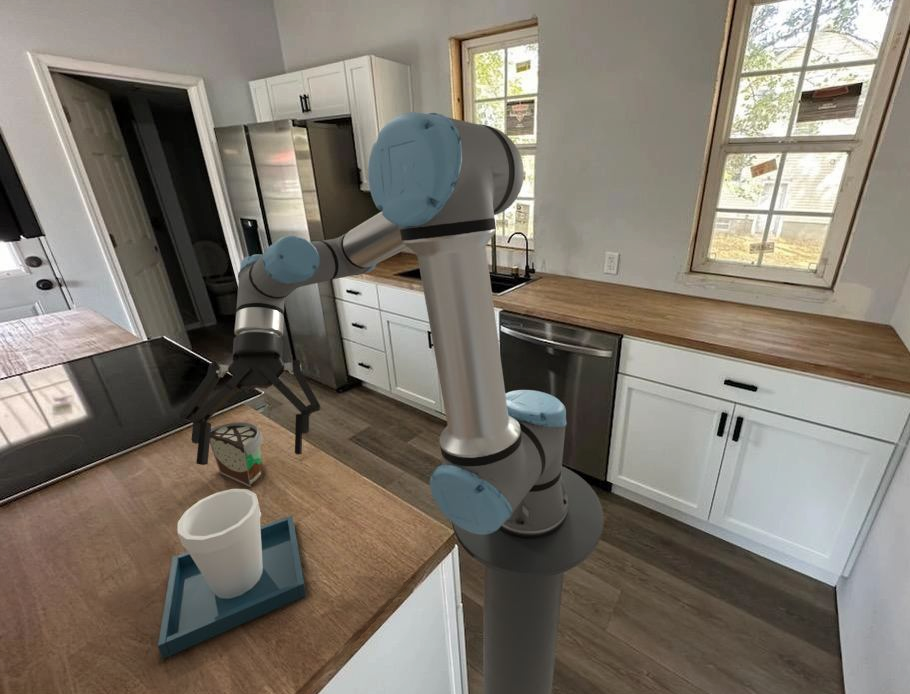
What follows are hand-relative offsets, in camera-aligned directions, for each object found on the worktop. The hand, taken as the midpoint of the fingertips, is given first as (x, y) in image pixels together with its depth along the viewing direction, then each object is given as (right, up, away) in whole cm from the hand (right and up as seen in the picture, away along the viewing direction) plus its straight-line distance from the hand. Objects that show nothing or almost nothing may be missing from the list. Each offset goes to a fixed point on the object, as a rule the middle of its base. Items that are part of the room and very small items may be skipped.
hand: (251, 458), depth 67 cm
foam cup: (+1, -17, -5) cm, 18 cm away
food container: (-12, -8, +18) cm, 23 cm away
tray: (+1, -17, -5) cm, 18 cm away
